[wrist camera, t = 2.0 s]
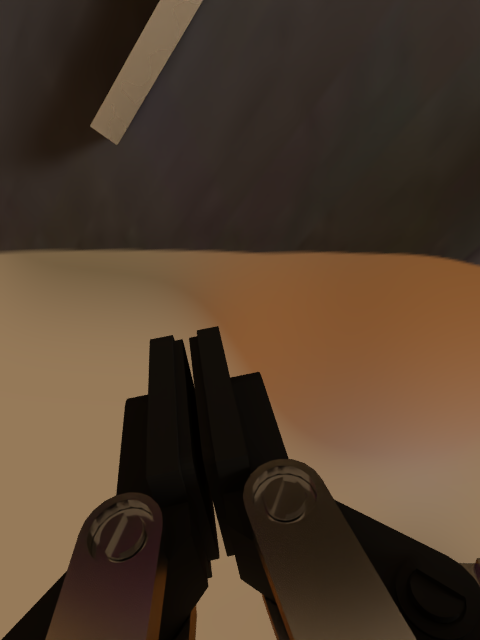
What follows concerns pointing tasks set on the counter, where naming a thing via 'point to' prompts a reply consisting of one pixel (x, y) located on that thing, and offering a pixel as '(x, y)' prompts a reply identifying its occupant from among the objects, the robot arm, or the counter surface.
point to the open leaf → (143, 66)
